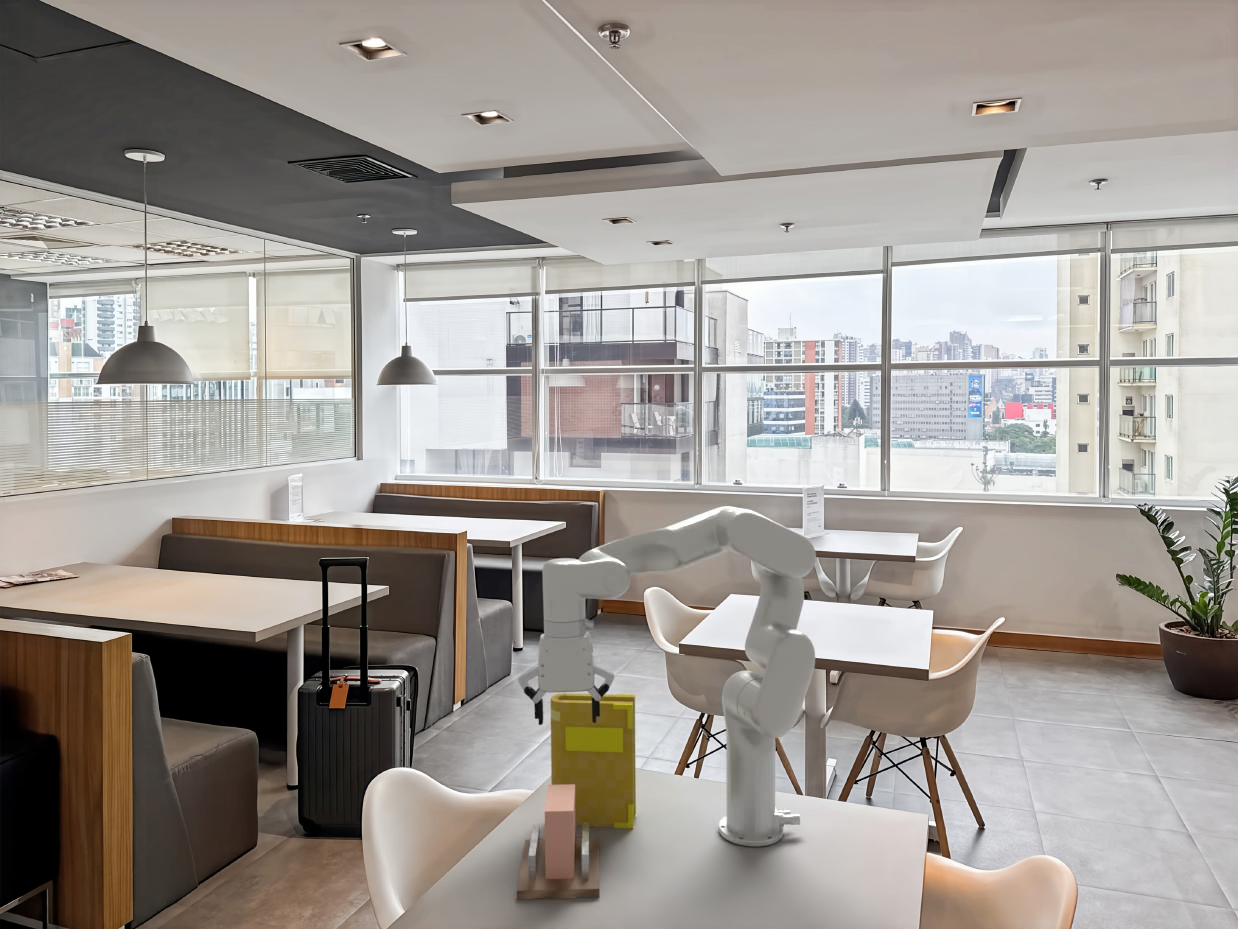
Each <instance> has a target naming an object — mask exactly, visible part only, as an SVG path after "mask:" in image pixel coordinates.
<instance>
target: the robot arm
mask: <svg viewBox="0 0 1238 929" xmlns="http://www.w3.org/2000/svg"><path fill="white" fill-rule="evenodd" d="M727 552H730V553H733V554H736V555H739V556H742V557H744V558H746V559H748V560H749V561H751V563H752V564H753V565H754V567H755V568H756V571H757V573H758V576H759V579H760V593H759V598H758V602H757V604H756V605H757V606H756V609H755V611H754V614H753V618H752V620H751V624H750V626H749V628H748V632H747V635H746V640H745V644H744V652H745V655H746V658H748V660H749V661H750V662H751V663H753V664H754V665H756V666H757V667H758V668H761V669H763V670H764V674H763V675H762V674H761V673H758V672H755V671H751V670H741V671H737V672H735V673H733V674H732V675H731V676H729V677H728V679H726V681H725V683H724V686H723V689H722V693H721V694H722V695H721V705H722V710H723V717H724V724H725V733H726V735H725V736H726V739H725V740H726V744H725V745H726V754H725V755H726V756H725V757H726V763H725V764H726V770H725V771H726V775H725V776H726V783H725V784H726V815H725V816H723V817H722V818H721V819H720V821H718V832H719V834H720V835H721V836H722V838H723V839H725V840H726V841H728V842H731V843H733V844H736V845H740V846H745V847H753V848H755V847H757V848H758V847H764V846H765V847H766V846H769V845H773V844H775V843H777V842H779V841H780V840H781V839H782V838H783V835H784V827H785V825H787V826H788V825H790V826H800V824H801V817H800V814H799V813H796V814H795V813H794V814H793V813H792V812H791V810H790V809H784V810H779V809H777V807H776V753H777V752H776V750H777V749H776V738H781V737H783V736H785V735H786V734H788V733H790V731H791V730H792V729H793V728H794V726H795V725H796V723H797V722H798V719H799V718H800V714H801V711H802V708H803V705H804V702H805V700H806V695H807V694H808V693H807V691H808V689H809V687H810V683H811V681H812V677H813V673H814V670H815V667H816V666H815V665H816V651H815V646H814V645H813V642H812V640H811V639H810V638H809V637H808V635H806V634H805V633H804V632H802V631H800V630H798V624H799V621H800V617H801V613H802V608H803V605H804V601H805V600H804V599H805V589H804V588H805V587H804V581H803V578H804V577H806V576H807V575H809V573H811V572H812V570H813V568H814V567H815V564H816V561H817V560H816V559H817V553H816V549H815V547H814V545H813V542H811V541H810V540H809V539H808V538H807V537H806V536H804V535H803V534H800V533H799V532H798V531H795V530H793V529H791V528H788V527H786V526H784V525H782V524H780V523H778V522H776V521H774V520H772V519H770V518H768V517H766V516H764V515H762V514H760V513H758V512H756V511H753V510H752V509H746V508H743V507H741V508H740V507H735V506H731V505H724V506H720V507H716V508H713V509H711V510H707V511H704V512H702V513H700V514H696V515H695V516H692V517H689V518H686V519H684V520H681V521H679V522H676V523H673V524H671V525H668V526H665V527H663V528H657V529H651V530H649V531H646V532H641V533H637V534H633V535H629V536H626V537H622V538H619V539H616V540H613V541H610V542H608V543H605V544H602V545H600V546H597V547H595V548H594V547H593V548H592V549H590V550H587V551H586V552H584V553H583V554H582V555H581V556H579V558H578V559H576V558H569V557H560V558H553V559H549V560H547V561H546V562H545V563H544V564H543V566H542V600H543V603H542V604H543V605H542V606H543V632H544V633H542V634H541V635H540V637H539V643H538V644H539V645H538V655H537V656H538V658H537V666H536V667H534V668H532V669H530V670H529V671H527V672H525V673H524V674H521V675H519V677H518V680H517V682H518V683H519V686H520V687H521V689H522V690H523V693H524V694H525V695H526V696H527V697H528V698H529V699H530V700H531V701H532V702H533V703H534V720H538V726H542V725H543V724H544V699H543V697H544V695H545V694H546V693H548V694H549V693H550V694H551V693H552V694H553V693H576V692H578V693H579V692H587V693H588V694H590V695H591V696H592V722H593V723H596V717H600V700H601V698H602V697H603V696H604V694H607V692H608V691H609V690H610V688H611V686H612V683H613V682H614V680H615V673H614V672H611V671H610V670H608V669H606V668H604V667H601V666H600V665H597V664H595V658H594V647H593V641H592V636H591V633H590V632H589V631H588V630H590V629H594V628H595V624H594V623H595V621H594V620H590V619H588V618H586V599H591V600H592V599H593V600H594V599H596V600H612V599H614V600H615V599H618V598H619V597H621V596H623V595H624V594H625V593H626V592H627V590H628V589H629V587H630V586H631V580H632V579H631V578H632V577H631V576H633V575H636V574H641V573H647V572H660V573H661V572H663V573H664V572H665V573H666V572H676V571H678V572H679V571H682V570H685V569H687V568H690V567H692V566H695V565H697V564H700V563H703V562H705V561H707V560H709V559H712V558H714V557H717V556H719V555H722V554H725V553H727ZM596 675H597V676H599V677H601V678H603V679H604V681H603V683H602V684H601V685H600V686H599V687H598V686H596V685H595V679H596V678H595V676H596ZM534 678H537V685H538V688H537V689H536V690H535V689H534V688H533V687H532V686H531V685H530V684H529V681H531V680H532V679H534ZM791 813H792V814H791Z"/></svg>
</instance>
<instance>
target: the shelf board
mask: <svg viewBox="0 0 1238 929" xmlns="http://www.w3.org/2000/svg"><path fill="white" fill-rule="evenodd" d="M530 842H531V838H529V839H524V843H523V844H524V845H523V851H522V855H521V856H522V857H521V862H520V863H521V864H520V868H519V869H520V870H519V875H518V880H517V887H516V888H517V889H516V900H536V899H535V898H552V899H574V898H573V897H592V898H600V854H599V853H600V844H599V837H589V880H582V837H580V838H578V837H577V838H576V853H575V875H574V878H572V879H546V874H545V838H540V851H539V859H538V867H537V875H536V881H529V859H528V855H529V849H530ZM529 898H531V899H529Z"/></svg>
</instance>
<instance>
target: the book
mask: <svg viewBox="0 0 1238 929" xmlns="http://www.w3.org/2000/svg"><path fill="white" fill-rule="evenodd" d="M550 764H551V766H550V767H551V768H550V769H551V772H550V773H551V776H550V777H551V785H568V784H575V825H576V826H582V822H589V827H590V826H591V827H608V826H612V827H613V828H614V829H630V828H633V827H634V826H635V818H636V816H635V815H637V803H636V801H637V794H636V793H637V792H636V788H637V786H636V785H637V784H636V778H637V776H636V694H635V693H615V694H613V693H612V694H607V693H605V694H604V696H603V697H602V698H601V700H600V717H596V723H593V722H592V696H591V695H590V694H589V693H574V692H562V693H558V694H554V695H552V696H551V697H550ZM634 817H635V818H634ZM633 829H634V828H633Z"/></svg>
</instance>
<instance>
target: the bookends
mask: <svg viewBox="0 0 1238 929" xmlns="http://www.w3.org/2000/svg"><path fill="white" fill-rule="evenodd" d="M540 827H541V826H540V822H539V823H536V822H535V823H532V828H531V830H532V831H531V836H530V839H531V842H530V849H529V855H528V859H529V881H536V875H537V867H538V859H539V851H540V839H541V836H540V835H541V830H540ZM581 827H582V829H581V838H582V880H589V838H590V826H589V822H582V825H581Z"/></svg>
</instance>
